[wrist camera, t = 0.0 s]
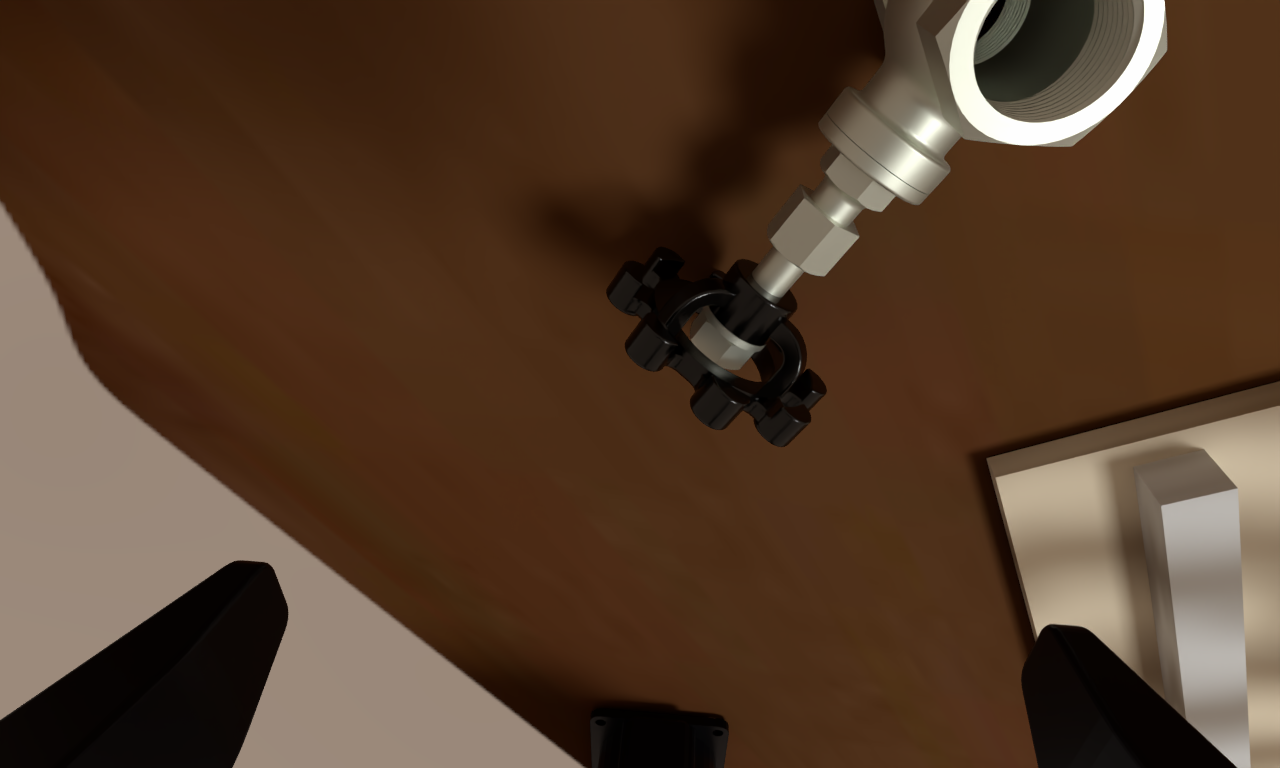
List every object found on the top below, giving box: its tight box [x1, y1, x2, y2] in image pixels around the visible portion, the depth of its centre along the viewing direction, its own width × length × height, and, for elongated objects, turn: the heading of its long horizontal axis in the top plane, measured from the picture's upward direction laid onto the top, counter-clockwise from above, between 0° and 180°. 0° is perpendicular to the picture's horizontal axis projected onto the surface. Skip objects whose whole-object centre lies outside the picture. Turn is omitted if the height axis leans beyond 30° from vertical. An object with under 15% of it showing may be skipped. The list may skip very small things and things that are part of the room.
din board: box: [986, 381, 1280, 768], centre depth 29 cm, size 26×10×3 cm, turn 25°
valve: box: [606, 0, 1167, 447], centre depth 17 cm, size 7×7×12 cm
